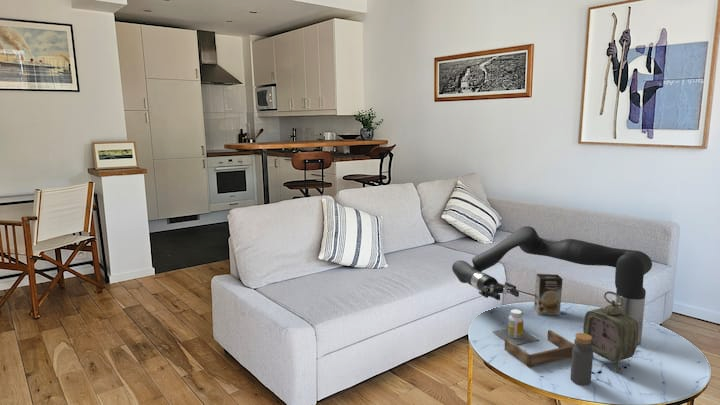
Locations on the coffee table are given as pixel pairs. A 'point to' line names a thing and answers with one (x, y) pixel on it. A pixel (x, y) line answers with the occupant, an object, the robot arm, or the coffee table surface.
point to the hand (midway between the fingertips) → (508, 296)
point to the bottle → (582, 359)
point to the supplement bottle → (515, 324)
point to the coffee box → (548, 294)
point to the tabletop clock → (611, 332)
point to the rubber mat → (524, 339)
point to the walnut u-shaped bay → (545, 356)
